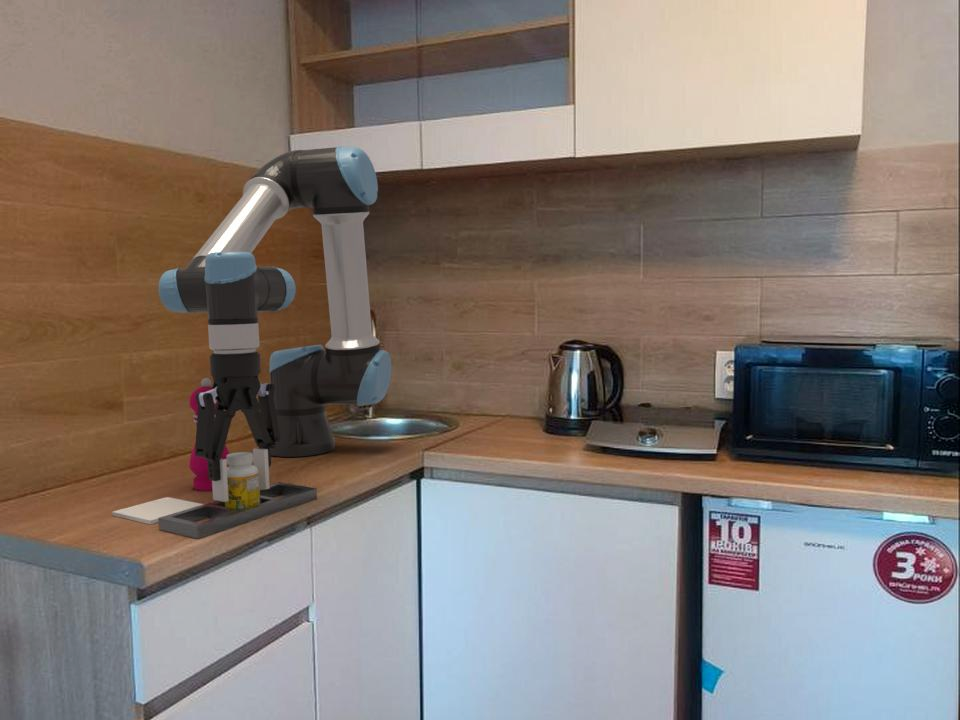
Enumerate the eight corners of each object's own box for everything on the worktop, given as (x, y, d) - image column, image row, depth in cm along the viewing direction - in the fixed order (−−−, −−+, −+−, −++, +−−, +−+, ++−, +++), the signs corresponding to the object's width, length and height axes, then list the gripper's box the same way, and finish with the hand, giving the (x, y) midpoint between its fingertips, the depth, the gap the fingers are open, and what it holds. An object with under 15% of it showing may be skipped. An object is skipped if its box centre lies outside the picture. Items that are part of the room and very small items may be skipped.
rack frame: (279, 492, 135) (279, 482, 135) (317, 498, 130) (316, 488, 130) (158, 529, 115) (158, 517, 114) (197, 538, 110) (197, 526, 110)
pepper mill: (218, 479, 145) (212, 375, 143) (240, 485, 140) (234, 377, 139) (183, 487, 139) (176, 378, 138) (204, 493, 135) (198, 381, 133)
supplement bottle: (267, 511, 123) (264, 452, 122) (242, 520, 119) (239, 459, 118) (243, 507, 126) (240, 449, 125) (217, 515, 121) (214, 456, 120)
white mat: (167, 500, 131) (167, 496, 131) (205, 508, 126) (205, 504, 126) (112, 515, 123) (112, 511, 123) (150, 524, 117) (150, 520, 117)
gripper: (268, 346, 130) (274, 477, 133) (162, 355, 113) (171, 506, 115) (299, 346, 126) (305, 482, 128) (194, 357, 109) (203, 513, 111)
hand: (242, 493), depth 122 cm, fingers open, 8 cm apart
